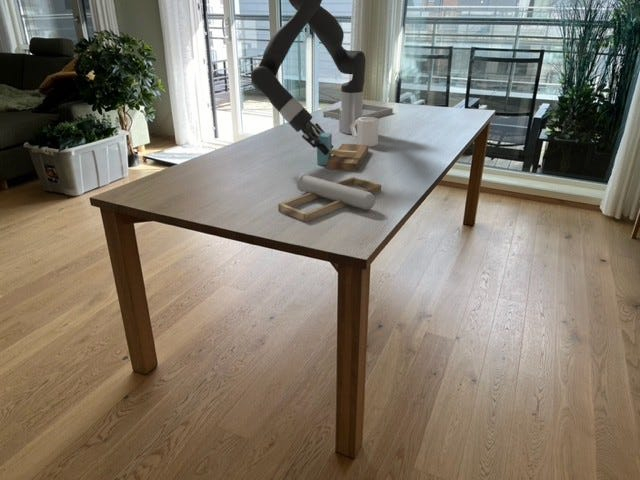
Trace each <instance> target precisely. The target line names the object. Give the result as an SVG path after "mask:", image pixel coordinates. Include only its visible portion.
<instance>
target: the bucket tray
mask: <svg viewBox="0 0 640 480" xmlns="http://www.w3.org/2000/svg"><path fill="white" fill-rule="evenodd" d="M340 109H341V107H338V108H334V109H329V110H328V109H327V110H324V111H322V113H323V115H322V116H327V117H326V118H328V117H331V118H330V119H333V118H335V120H339V114H337V113H339V110H340ZM363 110H369V111H373V112H369V113H366V114H362V117H375V118H379V117H383V116H387V115H391V114H393V112H394V109H393V107H387V106H381V105H375V104H370V103H369V104H367V103H363Z"/></svg>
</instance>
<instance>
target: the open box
mask: <svg viewBox="0 0 640 480" xmlns="http://www.w3.org/2000/svg"><path fill="white" fill-rule="evenodd" d="M337 150H346V151H357V155H356V156H355V157H353V156H352V155H337V154H332V157H331V158H330V159H329V160H328V162H327V165H326V167H327V170H339V171H354V172H356V171H357V170H358V169H359V167H360V166H361V164H362V162H363V161H364V159H365V157H366V156H367V154H368V152H369V146H368V145H358V144H357V143H356V144H354V143H342V144H341V145H340V146H339V147H338V148H337Z"/></svg>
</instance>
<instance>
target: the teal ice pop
mask: <svg viewBox="0 0 640 480" xmlns="http://www.w3.org/2000/svg"><path fill="white" fill-rule="evenodd" d="M332 137H333V135H332V132H325V133H320V134H319V139H320V140H321V141H322V143H323V144H324V145H325V146H326V147H327V148H328V149H329V150H330V151H329V153H328V154H327V155H324V154H323V153H322V152H321V150H320V149H319V148H316V164H317V165H320V166H321V165H322V166H327V162H328V160H329V159H330V158H331V157H332V156H333V154H337V155H352V156H353V157H355V156H356V155H357V151H346V150H338V149H333V148H332V145H333V143H332V141H333V139H332Z"/></svg>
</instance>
